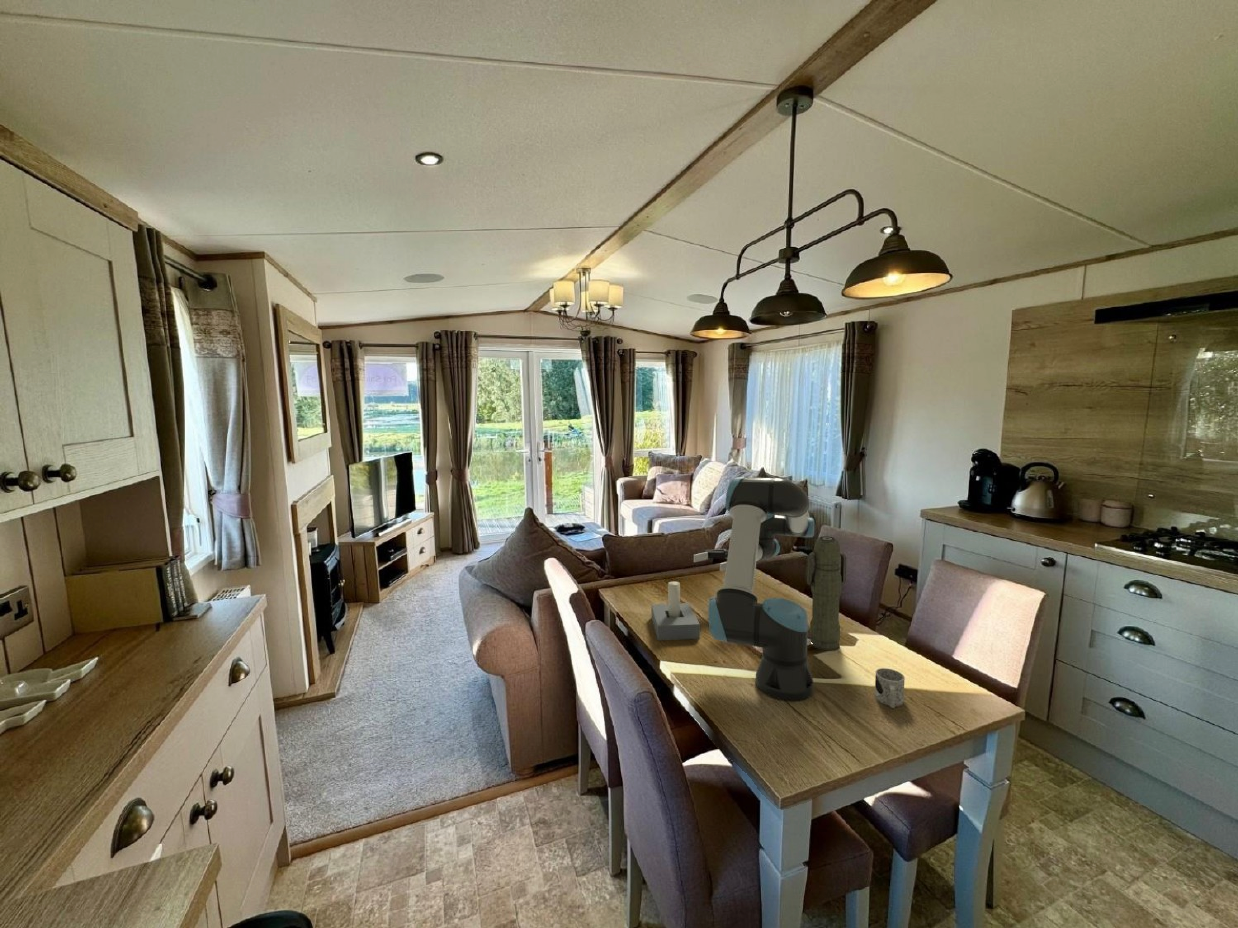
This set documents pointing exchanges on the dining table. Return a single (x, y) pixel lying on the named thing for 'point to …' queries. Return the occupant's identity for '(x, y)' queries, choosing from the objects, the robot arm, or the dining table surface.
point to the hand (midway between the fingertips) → (707, 562)
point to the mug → (889, 687)
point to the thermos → (826, 592)
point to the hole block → (675, 623)
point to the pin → (674, 599)
